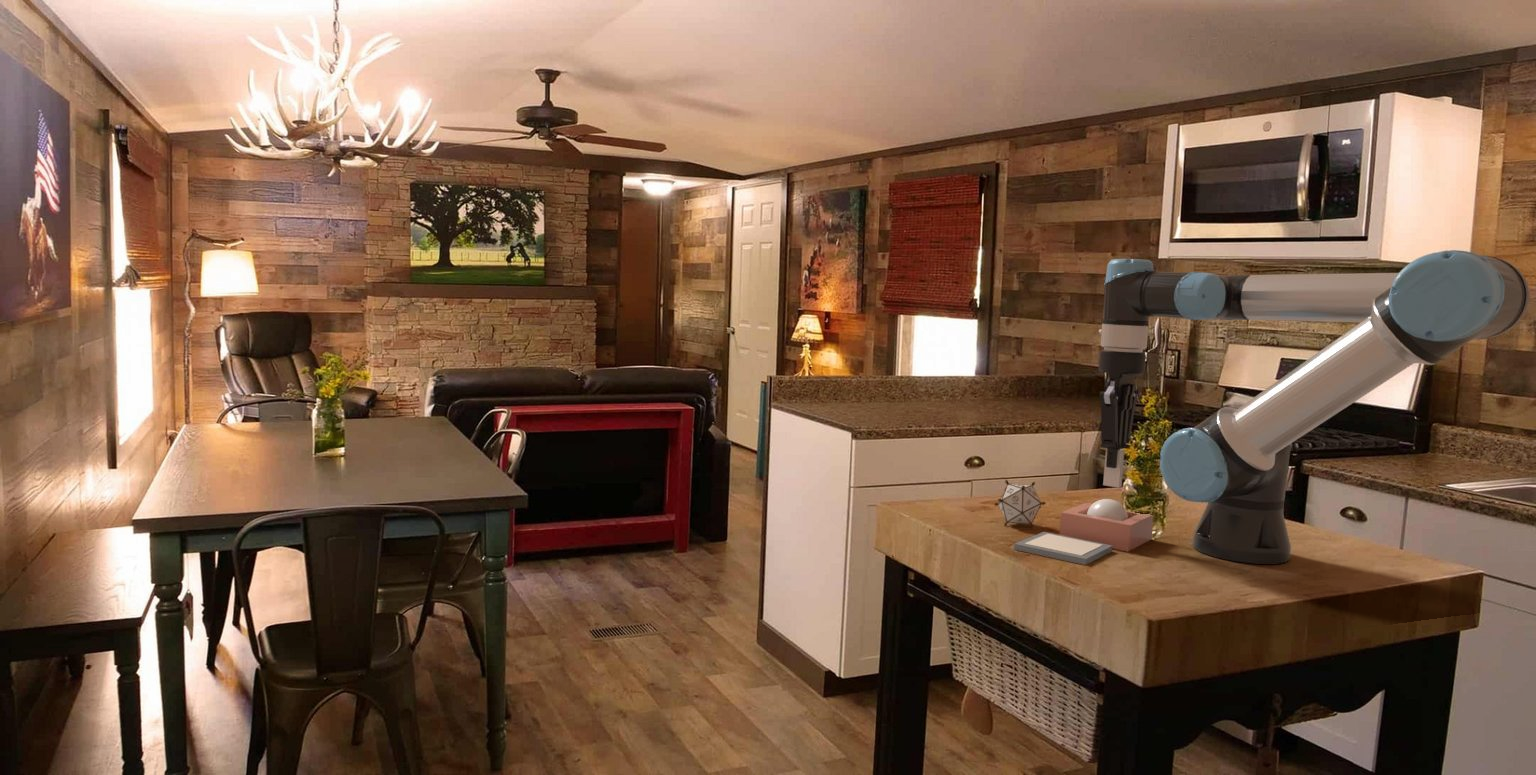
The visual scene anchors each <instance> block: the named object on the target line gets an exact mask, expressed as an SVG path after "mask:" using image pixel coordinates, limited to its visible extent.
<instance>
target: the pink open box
mask: <svg viewBox="0 0 1536 775" xmlns="http://www.w3.org/2000/svg"><path fill="white" fill-rule="evenodd" d="M1093 503H1094V502H1093ZM1093 503H1092V502H1085V503H1082V504H1079V505H1077V506H1073V507H1071V508H1069V509H1067V510H1064V511H1061V513H1060V521H1059V522H1060V523H1059V524H1060V525H1059V533H1058V535H1063V536H1068V537H1073V538H1078V539H1082V540H1087V541H1092V542H1097V543H1102V544H1107V545H1112V550H1118V551H1123V552H1128V553H1129V552H1130V551H1132V550H1135V549H1136V548H1138V547H1139V546H1142V545H1143V544H1145V543H1148V542H1150V541H1151V540H1152V535H1153V526H1154V525H1153V524H1154V516H1153V515H1150V514H1151V513H1149V514H1140V513H1135V512H1131V511H1127V510H1128V509H1126V511H1127V514H1128V519H1126V520H1124V521H1119V520H1114V519H1108V518H1103V517H1098V516H1092V515H1087V511H1088V509H1089V508H1090V506H1091V505H1092V504H1093Z"/></svg>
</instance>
